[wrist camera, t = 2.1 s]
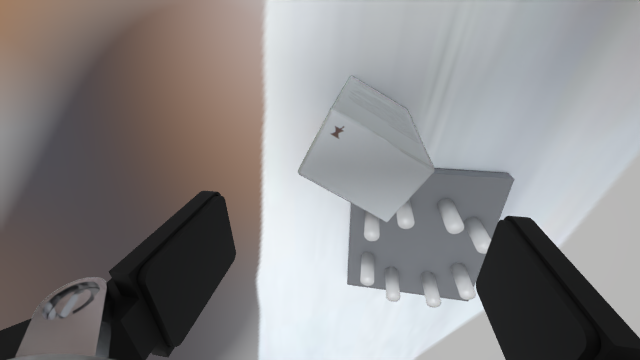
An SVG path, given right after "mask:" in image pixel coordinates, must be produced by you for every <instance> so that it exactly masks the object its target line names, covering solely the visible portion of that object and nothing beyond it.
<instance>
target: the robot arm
mask: <svg viewBox="0 0 640 360" xmlns="http://www.w3.org/2000/svg"><path fill="white" fill-rule="evenodd" d="M235 255H236V250H235V246H234V241H233V236H232V231H231V227H230V222H229V217H228V212H227V207H226V203H225V199H224V197H223V196H221V195H220V193H219V192H213V191H201V192H200V193H199V194H197V195H196V196H195V197H194V198H193V199H192V200H190V201H189V202H188V203H187V204H186V205H185V206H184V207H183V208H181V209H180V210H179V211H178V212H177V213H176V214H174V216H172V217H171V218H170V219H169V220H167V221H166V222H165V223H164V224H163V225H162V226H161V227H159V228H158V229H157V230H156V231H155V232H154V233H153V234H151V235H150V236H149V237H148V238H147V239H146V240H144V241H143V242H142V243H141V244H140V245H139V246H138V247H136V248H135V249H134V250H133V251H132V252H131V253H129V254H128V255H127V256H126V257H125V258H124V259H123V260H121V261H120V262H119V263H118V264H117V265H116V266H115V267H113V268H112V269H111V270H110V271H109V273H110V275H111V277H112V278H111V280H109V281H108V282H107V283H106V282H105V280H103V279H102V278H98V277H88V278H84V279H80V280H77V281H74V282H72V283H69V284H67V285H65V286H63V287H61V288H60V289H58V290H56V291H55V292H53V293H52V294H50V295H49V296H48V297H47V298H46V299H44V301H43V302H41V303H40V304H39V306H38V307H37V309H36V311H35V312H34V314H33V316H32V318H31V319H29V320H26V321H24V322H21V323H19V324H16V325H14V326H11V327H9V328H6V329H3V330H1V331H0V360H146V358H147V357H148V355H149V354H150V353H152V354H153V355H158V356H163V357H169V355H170V354H171V352H172V351H173V349H174V347H177V346H179V345H180V344H181V343H182V341H183V340H184V339H185V337H186V335H187V334H188V332H189V331H190V329H191V327H192V326H193V324H194V323H195V321H196V320H197V318H198V316H199V315H200V313H201V312H202V310H203V308H204V307H205V305H206V304H207V302H208V300H209V299H210V298H211V296H212V294H213V293H214V291H215V289H216V288H217V286H218V285H219V283H220V282H221V280H222V278H223V277H224V275H225V274H226V272H227V271H228V269H229V268H230V266H231V264H232V263H233V261H234V259H235ZM476 289H477V293H478V295H479V297H480V300H481V302H482V304H483V307H484V309H485V312H486V314H487V316H488V319H489V321H490V323H491V326H492V328H493V331H494V333H495V335H496V338H497V340H498V342H499V345H500V347H501V350H502V352H503V354H504V357H505V359H506V360H640V338H639V337H638V336H637V335H636V334H635V333H634V332H633V330H631V328H630V327H629V326H628V325H627V324H626V323H625V322H624V320H623V319H622V318H621V317H620V316H619V315H618V314H617V313H616V312H615V311H614V309H613V308H612V307H611V306H610V305H609V304H608V303H607V302H606V301H605V300H604V298H603V297H602V296H601V295H600V294H599V293H598V292H597V291H596V290H595V289H594V287H593V286H592V285H591V284H590V283H589V282H588V281H587V280H586V279H585V277H584V276H583V275H582V274H581V273H580V272H579V271H578V270H577V269H576V268H575V266H574V265H573V264H572V263H571V262H570V261H569V260H568V259H567V257H565V255H564V254H563V253H562V252H561V251H560V250H559V249H558V247H557V246H556V245H555V244H554V243H553V242H552V241H551V240H550V239H549V238H548V236H547V235H546V234H545V233H544V232H543V231H542V230H541V229H540V228H539V226H538V225H537V224H536V223H535V222H534V221H533V220H532V219H531V218H528V217H516V216H507V217H505V218H504V220H500V221H499V222H498V223H497V226H496V228H495V231H494V234H493V237H492V239H491V242H490V245H489V247H488V250H487V253H486V256H485V258H484V261H483V264H482V266H481V269H480V272H479V275H478V277H477V280H476Z"/></svg>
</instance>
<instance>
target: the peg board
mask: <svg viewBox="0 0 640 360" xmlns="http://www.w3.org/2000/svg"><path fill="white" fill-rule="evenodd" d="M434 169H435V168H434ZM513 181H514V178H513V177H512V176H511V175H510V174H509V173H499V172H483V171H467V170H451V169H435V171H434V173H433V174H432V175H431V176H430V177H429V178H428V179H427V180H426V181H425V182H424V183H423V184H422V186H421V187H420V188H419V189H418V190H417V191H416V192H415V193H414V194H413V195H412V196H411V197H410V198H409V200H408V201H407V202H406V203H405V204H404V205H403V206H402V207H401V208H400V209H399V210H398V211H397V212H396V213H395V214H394V215H393V217H392V218H391V219H390V220H389V221H388V222H385V221H383V220H382V219H380V218H378V217H376V216H375V215H373V214H371V213H369V212H367V211H365V210H364V209H362V208H360V207H358V206H356V205H355V204H353V203H351V219H350V239H349V259H348V279H347V284H348V285H355V286H362V287H369V288H376V289H383V290H386V298H387V299H388V300H390V301H398V300H399V299H400V292H405V293H412V294H419V295H425V298H426V303H427V305H428V306H430V307H438V306H440V305H441V300H440V297H441V298H448V299H455V300H462V301H469V300H470V299H473V298H474V297H475V296H476V293H475V291H474V288H473V287H474V285H475V282H476V279H477V277H478V274H479V271H480V269H481V266H482V263H483V261H484V258H485V255H486V253H487V250H488V247H489V245H490V242H491V239H492V237H493V234H494V231H495V228H496V226H497V223H498V221H499V218H500V216H501V213H502V210H503V208H504V205H505V202H506V200H507V197H508V194H509V192H510V189H511V186H512V184H513Z"/></svg>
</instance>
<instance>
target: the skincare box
mask: <svg viewBox="0 0 640 360" xmlns="http://www.w3.org/2000/svg"><path fill="white" fill-rule="evenodd" d="M434 171H435V169H434V167H433V164H432V162H431V160H430V158H429V156H428V154H427V151H426V149H425V147H424V145H423V143H422V141H421V138H420V136H419V134H418V132H417V129H416V127H415V125H414V123H413V121H412V118H411V116H410V114H409V112H408V110H407V109H406V108H404V107H402V106H401V105H399V104H397V103H396V102H394V101H393V100H391V99H389V98H388V97H386V96H384V95H383V94H381V93H379V92H378V91H376V90H375V89H373V88H371V87H370V86H368V85H366V84H365V83H363V82H361V81H360V80H358V79H356V78H355V77H353V76H350V77H349V79H348V81H347V82H346V84H345V86H344V87H343V89H342V91H341V93H340V94H339V96H338V98H337V100H336V101H335V103H334V105H333V106H332V108H331V109H330V111H329V113H328V115H327V117H326V119H325V120H324V122H323V124H322V126H321V128H320V130H319V132H318V133H317V135H316V137H315V139H314V141H313V143H312V145H311V146H310V148H309V150H308V152H307V154H306V156H305V158H304V160H303V162H302V164H301V165H300V167H299V170H298V173H299V175H301V176H303V177H305V178H307V179H309V180H310V181H312V182H314V183H316V184H318V185H320V186H321V187H323V188H325V189H327V190H329V191H331V192H332V193H334V194H336V195H338V196H340V197H342V198H343V199H345V200H347V201H349V202H351V203H353V204H355V205H356V206H358V207H360V208H362V209H364V210H365V211H367V212H369V213H371V214H373V215H375V216H376V217H378V218H380V219H382V220H383V221H385V222H388V221H389V220H390V219H391V218H392V217H393V215H394V214H395V213H396V212H397V211H398V210H399V209H400V208H401V207H402V206H403V205H404V204H405V203H406V202H407V201H408V200H409V198H410V197H411V196H412V195H413V194H414V193H415V192H416V191H417V190H418V189H419V188H420V187H421V186H422V184H423V183H424V182H425V181H426V180H427V179H428V178H429V177H430V176H431V175H432V174H433V173H434Z"/></svg>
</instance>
